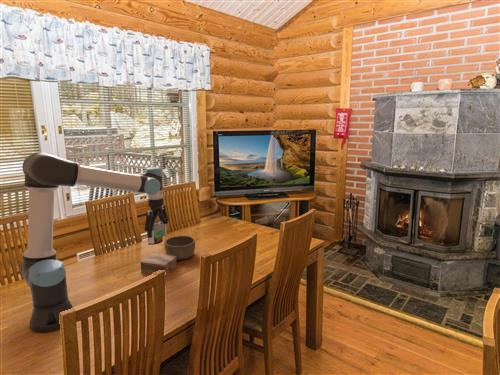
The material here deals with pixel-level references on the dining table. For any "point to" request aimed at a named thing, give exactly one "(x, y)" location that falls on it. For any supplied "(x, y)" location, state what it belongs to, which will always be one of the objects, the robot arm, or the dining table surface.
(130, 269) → the dining table surface
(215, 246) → the dining table surface
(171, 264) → the walnut block
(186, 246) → the bowl
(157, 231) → the food container
